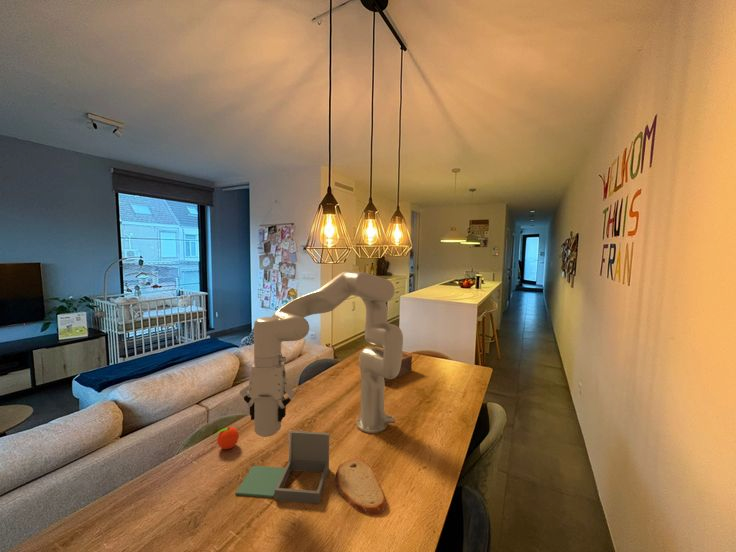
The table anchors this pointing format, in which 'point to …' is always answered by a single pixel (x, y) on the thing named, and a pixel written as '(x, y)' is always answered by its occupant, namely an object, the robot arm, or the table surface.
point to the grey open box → (305, 464)
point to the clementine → (227, 437)
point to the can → (266, 416)
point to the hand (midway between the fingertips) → (267, 418)
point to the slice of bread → (360, 487)
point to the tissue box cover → (403, 366)
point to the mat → (260, 481)
